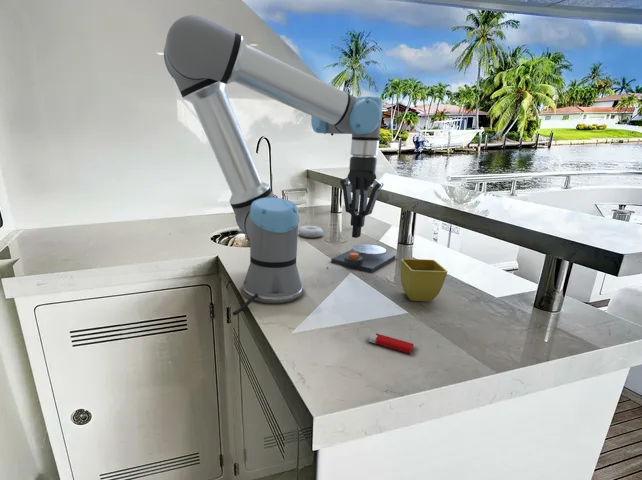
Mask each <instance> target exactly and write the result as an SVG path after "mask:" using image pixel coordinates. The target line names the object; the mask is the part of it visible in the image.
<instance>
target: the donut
mask: <svg viewBox="0 0 642 480" xmlns="http://www.w3.org/2000/svg"><path fill="white" fill-rule="evenodd" d="M323 234H324V230H323V228H322V227H320V226H317V225H303V226H300V227H298V235H299V236H301V237H303V238H309V239H315V238H321V237H322V235H323Z"/></svg>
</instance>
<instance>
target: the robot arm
mask: <svg viewBox="0 0 642 480" xmlns="http://www.w3.org/2000/svg"><path fill="white" fill-rule="evenodd" d="M163 60H164V64H165V67H166V70H167V72H168V74H169V75H170V76H171V78H173V80H174V82H175V84H176V86H177V89H178V90H179V94H180V95H181V97H182V99H183V100H184V101H186V102H189V103H190V104H192V107H193V109H194V111H195V113H196V116H197V118H198V120H199V122H200V124H201V127H202V129H203V131H204V134H205V136H206V138H207V140H208V143H209V145H210V148H211V150H212V152H213V154H214V156H215V159H216V161H217V163H218V166H219V167H220V169H221V172H222V174H223V177H224V179H225V182H226V184H227V186H228V188H229V190H230V193H231V196H230V199H229V204H230V206H231V209H232V211H233V213H234V218H235V222H236V225H237V226H238V228H239V230H240V231H241V232H242V233H243V234H245V235H246V236H247V237H248V239H249V259H250V260H249V265H248V269H247V270H246V271H247V272H246V275H245V278H244V281H243V284H242V293H243V295H244V296H245V297H246V298H247V299H248V300H246V301H245V302H244V303H243V304H242V306H240V307H239V308H238V309H236V310H235V311H233V312H232V315H233V316H237V315H238V314H240V313H241V312H243V311H244V310H245V309H246V308H247V307H248V306H249V305H250V304H252V302H253V301H255V302H258V303H262V304H275V305H276V304H277V305H278V304H286V303H291V302H293V301H295V300H297V299H299V298H300V297H301V296H302V294H303V283H302V280H301V277H300V274H299V270H298V266H297V256H298V237H299V232H298V230H299V223H300V216H299V208H298V206H297V205H296V203H295V202H294V201H291V200H289V199H284V198H281V197H274V194H273V191H272V189H271V187H270V184H269V183H267V182H264V181H262V179H261V177H260V174H259V171H258V169H257V166H256V165H255V164H256V163H255V161H254V159H253V157H252V154H251V152H250V149H249V147H248V144H247V141H246V139H245V137H244V134H243V131H242V129H241V127H240V124H239V122H238V120H237V117H236V114H235V112H234V110H233V109H234V108H233V107H232V105H231V102H230V99H229V97H228V95H227V92H226V85H229V84H231V83H236V84H237V85H240V86H242V87H244V88H246V89H248V90H250V91H253V92H256V93H258V94H260V95H262V96H265V97H267V98H269V99H272V100H275V101H277V102H279V103H281V104H283V105H286V106H288V107H291V108H293V109H295V110H298V111H299V112H302V113H305V114H306V115H309V116H310V121H311V122H310V124H311V127H312V130H313V132H314V133H316V134H324V135H326V134H328V135H329V134H331V135H333V134H335V135H351V143H350V155H351V157H350V158H349V166H348V169H349V171H348V174H347V177H345V178H343V179H340V180H339V183H340V185H341V189H342V193H343V194H342V195H343V202H344V209H345V213H348V214H350V226H352V229H351V238H354V239H357V238H359V237H361V233H362V228H364V226H365V220H366V216H370V215H372V213H373V211H374V208H375V206H376V205H375V204H376V202H377V199H378V196H379V193H380V191H381V190H382V188H383V187H384V183H383V182H380V181H379V180H378V179H377V175H376V171H377V165H378V158H377V156H378V155H379V154H378V153H379V146H380V145H379V144H380V137H381V136H380V134H381V127H382V117H383V106H384V105H383V103H384V102H383V99H382V98H381V97H379V96H357V97H356V96H355V95H352V94H350V93H347V92H346V91H344V90H341V89H340V88H337V87H335V86H333V85H331V84H330V83H327V82H326V81H323V80H321V79H319V78H318V77H317V78H316V77H315V76H312V75H310V74H308V73H306V72H305V71H303V70H301V69H298V68H296V67H294V66H292V65H290V64H288V63H286V62H284V61H281V60H280V59H277V58H276V57H274V56H271V55H270V54H267V53H266V52H263V51H261V50H259V49H257V48H256V47H253V46H252V45H249V44H247V43H246V42H245V39H244V36H243V35H241V34H239V33H237V32H235V31H233V30H231V29H229V28H227V27H225V26H223V25H221V24H219V23H217V22H215V21H213V20H211V19H208V18H207V17H203V16H200V15H194V14H190V15H189V14H188V15H184V16H182V17H179V18H178V19H176V20H175V21H174V22H173V23H172V24H171V26H170V27H169V29H168V31H167V35H166V38H165V44H164V49H163ZM350 185H351V186H350ZM371 187H372V190H371V191H370V188H371ZM369 192H370V195H369ZM368 196H369V197H368Z"/></svg>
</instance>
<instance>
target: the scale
mask: <svg viewBox="0 0 642 480" xmlns="http://www.w3.org/2000/svg"><path fill="white" fill-rule="evenodd" d="M350 253H357V252H354V251H353V250H352V249H350V250H348V251H346V252H343V253H341V254H339V255H336V256H334V257H332V258H331V260H330V263H332V264H334V265H335V264H336V265H338V266H339V265H340V266H342V267H343V266H344V267H347V268H351V269H355V270H359V271H362V272H367V273H371V274H372V273H374V272H376V271H377V270H379V269H380V268H382V267H384V266H386V265H388V264H390V263H391V262H392V261H394V260H396V257H397V256H396V254H393V253H387V252H386V253H385V254H382V255H365V254H360V253H358V259H351V258H349V257H350Z"/></svg>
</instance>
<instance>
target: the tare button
mask: <svg viewBox="0 0 642 480" xmlns="http://www.w3.org/2000/svg"><path fill="white" fill-rule="evenodd" d="M349 258H351V259H358V253H350V257H349Z"/></svg>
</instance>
